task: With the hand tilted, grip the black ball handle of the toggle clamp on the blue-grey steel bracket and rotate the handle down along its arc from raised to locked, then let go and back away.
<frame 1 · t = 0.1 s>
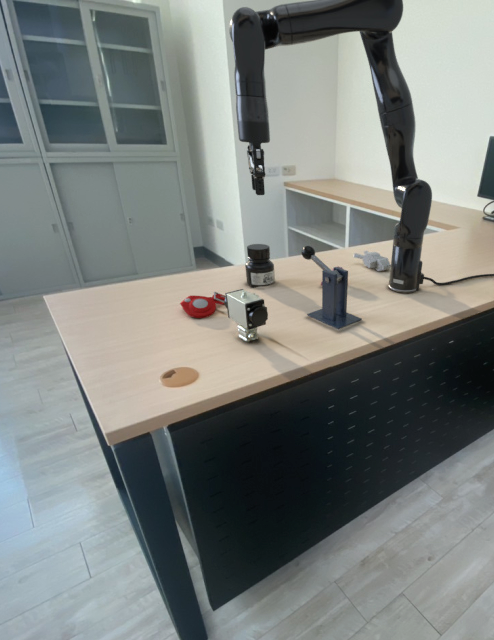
hand: (258, 192, 106), 29 cm above the table, tool pointing down, fingers open, 8 cm apart
bunny figurine: (372, 267, 153), on the table
clamp handle: (321, 264, 106), point 14 cm above the table, hinge at 22.0°
video game controller: (332, 284, 135), on the table
pneumatic valve: (250, 338, 99), on the table
tracker holder: (206, 311, 111), on the table
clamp: (334, 320, 110), on the table
ink bottle: (261, 284, 131), on the table
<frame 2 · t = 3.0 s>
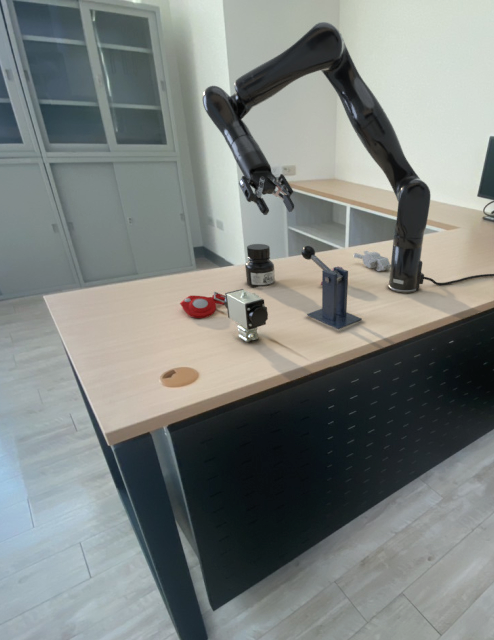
hand: (279, 211, 109), 25 cm above the table, tool tilted 45°, fingers open, 8 cm apart
nothing on the table moved.
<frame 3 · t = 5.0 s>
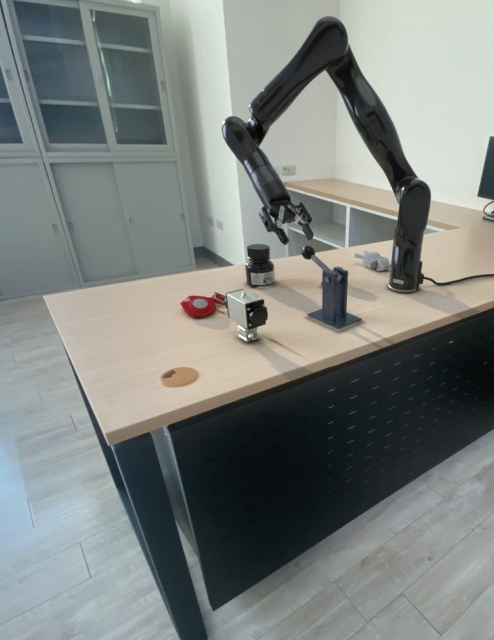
hand: (299, 240, 108), 18 cm above the table, tool tilted 45°, fingers open, 8 cm apart
nothing on the table moved.
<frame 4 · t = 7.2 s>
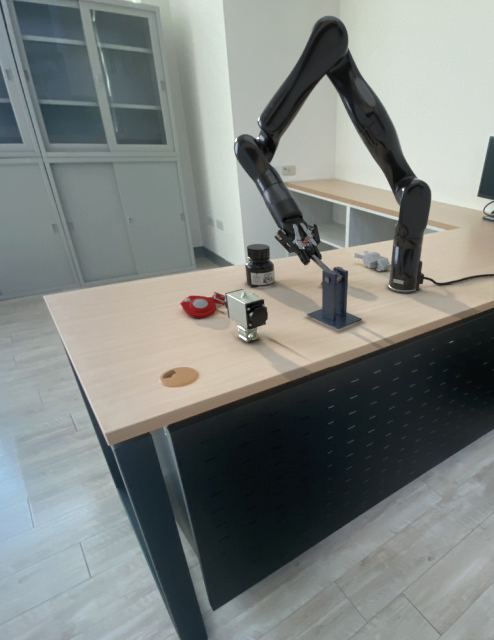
hand: (313, 261, 107), 14 cm above the table, tool tilted 45°, fingers closed on clamp handle, 3 cm apart
clamp handle: (321, 264, 106), point 14 cm above the table, hinge at 21.9°, touching gripper
everything else where it was.
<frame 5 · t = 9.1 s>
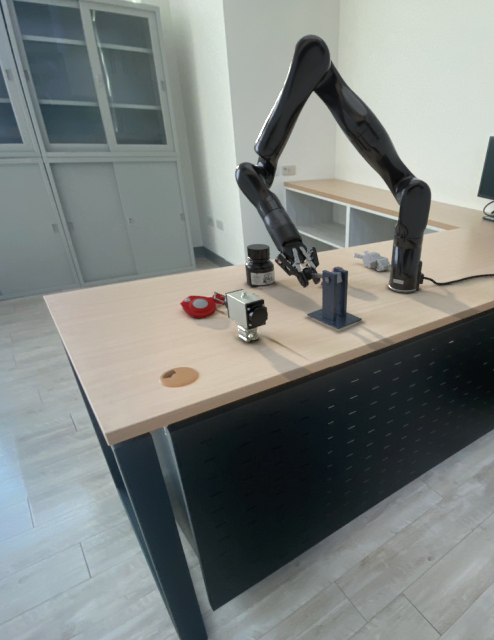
hand: (312, 284, 111), 8 cm above the table, tool tilted 45°, fingers closed on clamp handle, 3 cm apart
clamp handle: (320, 275, 108), point 11 cm above the table, hinge at -10.1°, touching gripper
everything else where it was.
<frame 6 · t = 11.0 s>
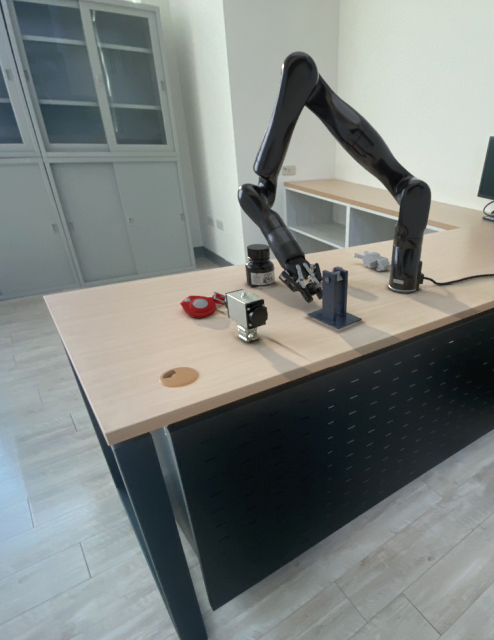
hand: (316, 299, 112), 4 cm above the table, tool tilted 50°, fingers closed on clamp handle, 3 cm apart
clamp handle: (322, 283, 108), point 9 cm above the table, hinge at -31.9°, touching gripper
everything else where it was.
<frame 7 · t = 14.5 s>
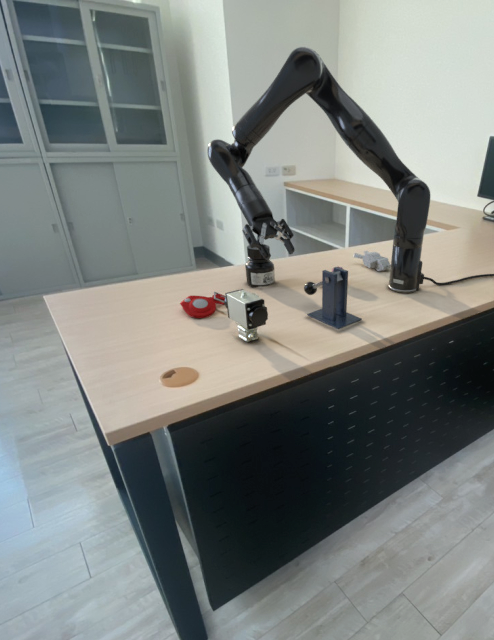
hand: (280, 255, 116), 13 cm above the table, tool tilted 45°, fingers open, 8 cm apart
clamp handle: (321, 283, 108), point 9 cm above the table, hinge at -30.4°
everything else where it was.
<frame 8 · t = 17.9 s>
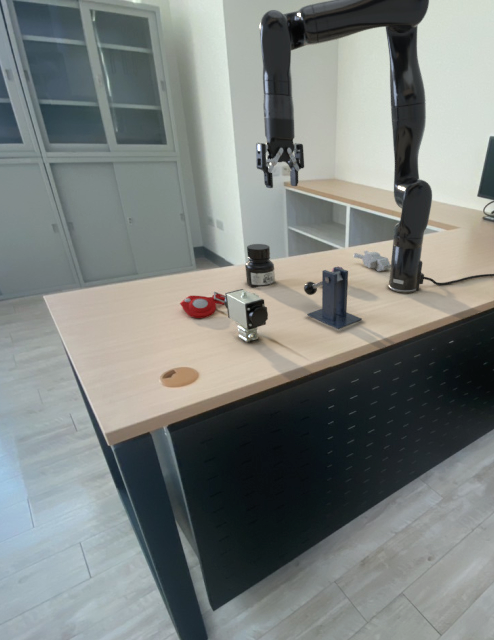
hand: (282, 186, 111), 30 cm above the table, tool pointing down, fingers open, 8 cm apart
nothing on the table moved.
at the end: clamp handle at -30° (first picture: +22°); clamp handle reached -32° during the clip, -30° at the end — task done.
